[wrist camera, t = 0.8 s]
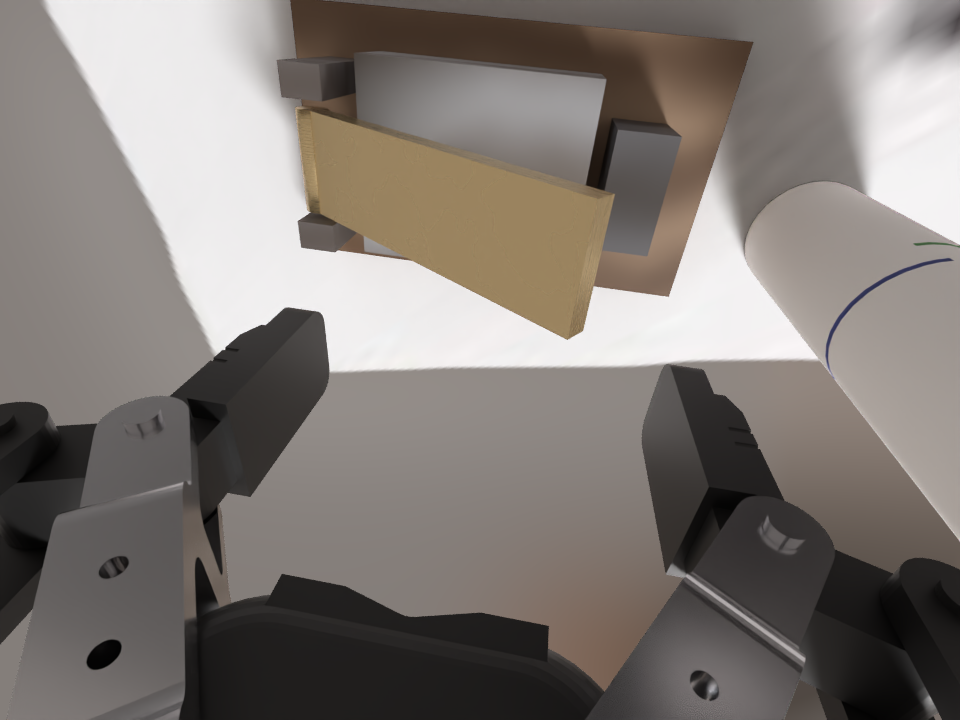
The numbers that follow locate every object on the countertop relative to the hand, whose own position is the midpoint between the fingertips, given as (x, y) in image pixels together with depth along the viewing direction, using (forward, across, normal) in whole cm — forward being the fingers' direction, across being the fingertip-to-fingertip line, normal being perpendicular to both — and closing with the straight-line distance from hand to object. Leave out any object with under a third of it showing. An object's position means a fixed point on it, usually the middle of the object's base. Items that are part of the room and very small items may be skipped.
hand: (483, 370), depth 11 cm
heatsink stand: (+24, +2, 0) cm, 24 cm away
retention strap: (+12, +4, 0) cm, 13 cm away
